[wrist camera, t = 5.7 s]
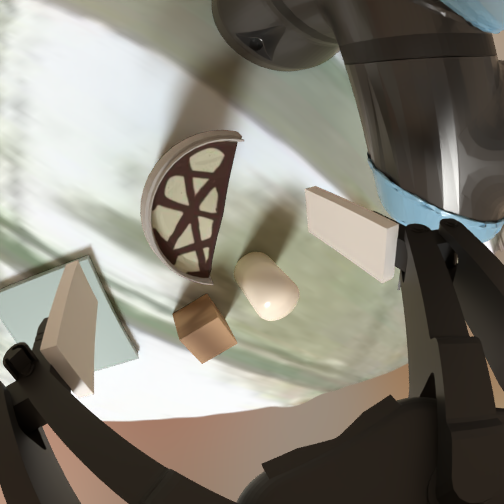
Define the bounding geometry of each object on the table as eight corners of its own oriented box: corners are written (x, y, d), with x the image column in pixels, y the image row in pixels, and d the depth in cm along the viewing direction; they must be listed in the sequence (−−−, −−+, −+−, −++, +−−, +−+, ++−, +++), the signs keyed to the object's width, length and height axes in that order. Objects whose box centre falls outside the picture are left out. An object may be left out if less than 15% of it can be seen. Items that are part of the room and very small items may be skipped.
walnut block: (206, 292, 35) (218, 317, 31) (224, 318, 38) (237, 343, 34) (172, 313, 35) (179, 340, 31) (192, 337, 37) (202, 363, 33)
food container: (150, 119, 25) (157, 116, 17) (210, 128, 28) (246, 132, 19) (132, 238, 29) (134, 288, 21) (188, 242, 32) (212, 291, 23)
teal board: (88, 254, 28) (87, 259, 27) (138, 353, 35) (138, 358, 34) (-10, 293, 24) (-13, 297, 23) (48, 378, 31) (48, 383, 30)
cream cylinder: (269, 246, 36) (297, 273, 30) (273, 280, 38) (300, 310, 32) (230, 259, 35) (252, 290, 29) (237, 293, 37) (259, 326, 31)
